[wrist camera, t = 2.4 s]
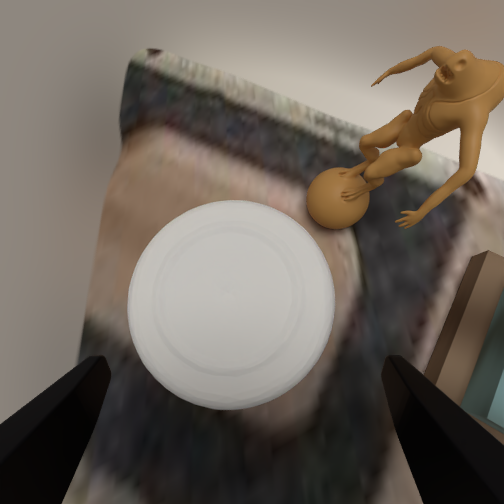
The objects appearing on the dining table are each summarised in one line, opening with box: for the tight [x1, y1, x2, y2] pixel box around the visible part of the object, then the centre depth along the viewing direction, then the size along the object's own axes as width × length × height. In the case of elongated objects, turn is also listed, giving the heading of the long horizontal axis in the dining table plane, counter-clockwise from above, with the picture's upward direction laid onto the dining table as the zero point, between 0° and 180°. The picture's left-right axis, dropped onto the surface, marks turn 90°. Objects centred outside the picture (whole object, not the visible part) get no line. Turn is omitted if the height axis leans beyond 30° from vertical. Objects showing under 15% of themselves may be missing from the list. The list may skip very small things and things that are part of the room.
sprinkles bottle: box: [127, 200, 335, 410], centre depth 12 cm, size 5×5×14 cm
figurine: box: [306, 46, 504, 229], centre depth 15 cm, size 8×6×12 cm
